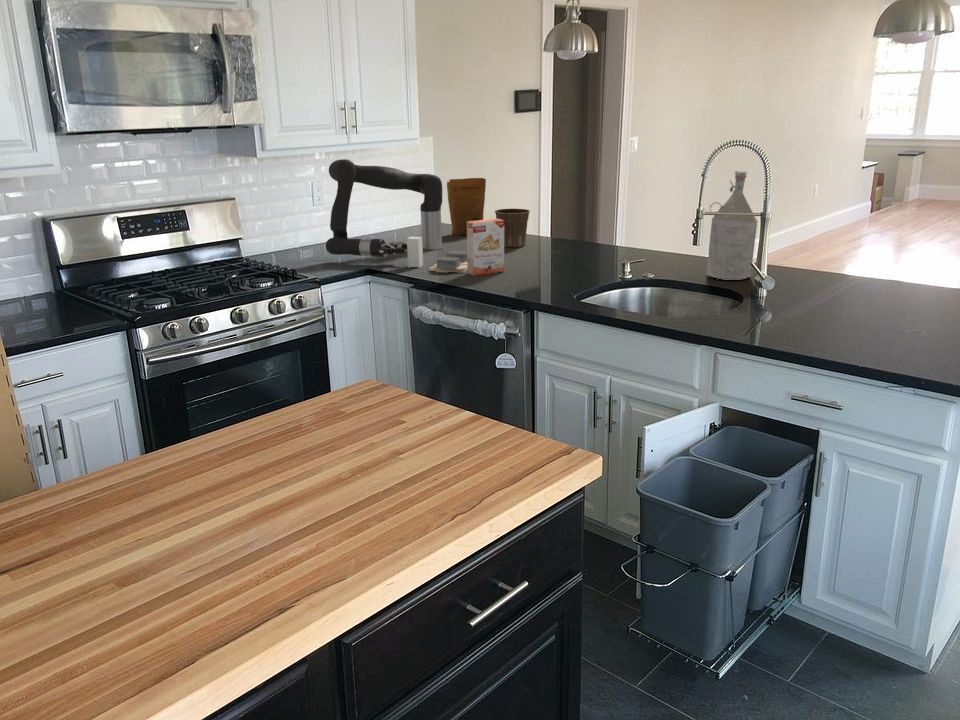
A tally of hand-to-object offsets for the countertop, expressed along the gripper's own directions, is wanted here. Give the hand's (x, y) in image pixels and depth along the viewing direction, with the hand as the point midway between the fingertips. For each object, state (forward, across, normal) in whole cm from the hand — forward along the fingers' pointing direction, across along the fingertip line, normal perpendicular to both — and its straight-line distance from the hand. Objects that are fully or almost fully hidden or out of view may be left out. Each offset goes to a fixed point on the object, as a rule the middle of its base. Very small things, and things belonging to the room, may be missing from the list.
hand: (408, 248), depth 321 cm
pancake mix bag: (+3, +74, +8) cm, 74 cm away
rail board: (+19, +1, +7) cm, 20 cm away
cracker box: (+35, -6, +8) cm, 36 cm away
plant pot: (+32, +51, +8) cm, 61 cm away
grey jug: (+127, +6, +8) cm, 127 cm away
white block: (+3, 0, +7) cm, 8 cm away
